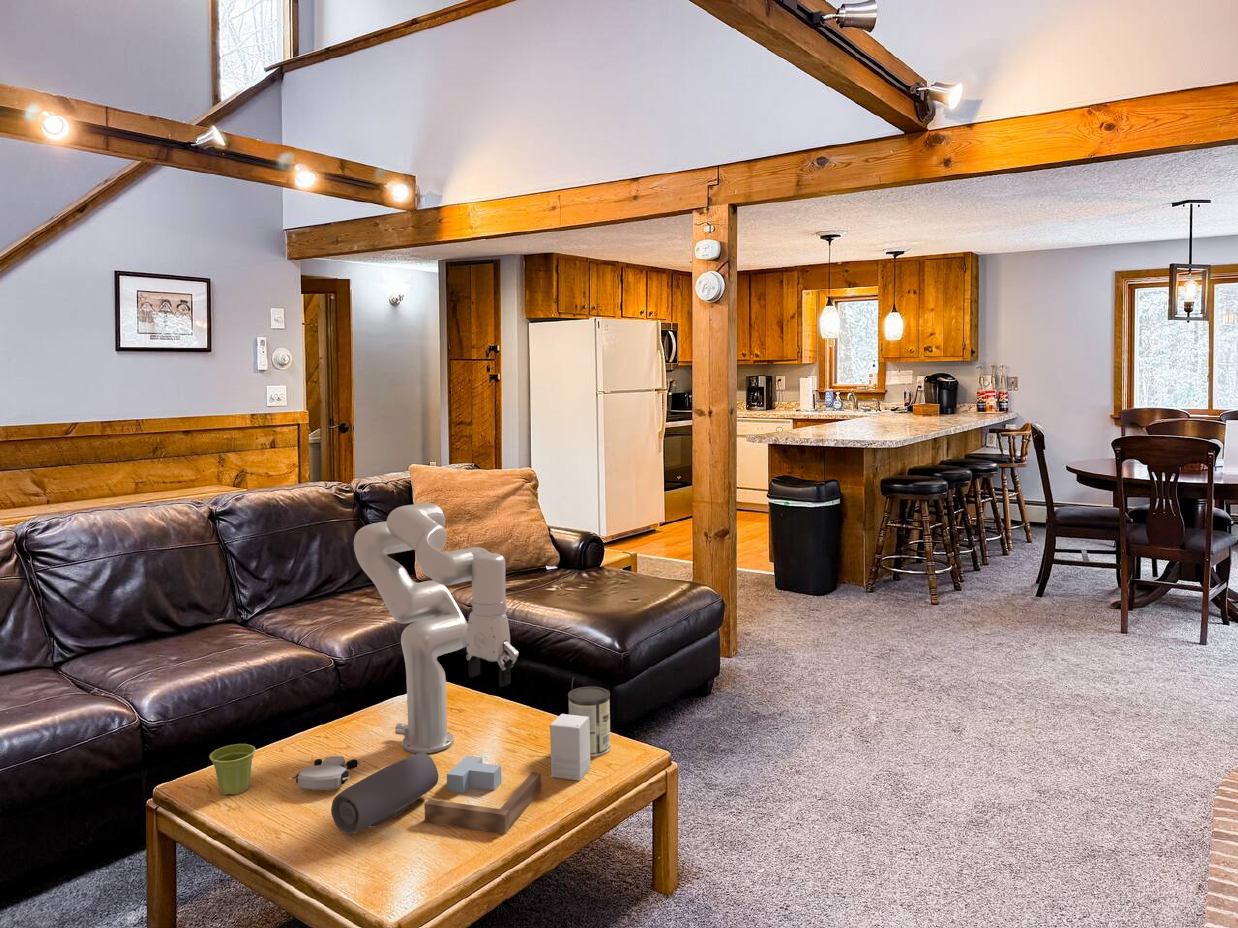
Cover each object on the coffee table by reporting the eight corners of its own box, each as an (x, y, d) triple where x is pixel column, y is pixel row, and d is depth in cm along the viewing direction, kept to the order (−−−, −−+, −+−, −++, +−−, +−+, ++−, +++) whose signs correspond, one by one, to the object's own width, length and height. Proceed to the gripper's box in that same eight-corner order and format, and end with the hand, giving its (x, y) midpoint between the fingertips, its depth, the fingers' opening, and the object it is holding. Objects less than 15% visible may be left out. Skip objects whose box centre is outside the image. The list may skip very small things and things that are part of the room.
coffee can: (572, 739, 229) (571, 685, 227) (612, 740, 228) (612, 686, 226) (565, 756, 219) (564, 700, 217) (608, 758, 218) (607, 701, 216)
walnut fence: (424, 821, 187) (424, 803, 187) (467, 780, 206) (467, 763, 206) (505, 833, 182) (504, 814, 182) (541, 789, 201) (540, 772, 201)
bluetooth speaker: (409, 788, 202) (408, 745, 201) (441, 798, 197) (439, 754, 196) (329, 833, 183) (327, 786, 182) (362, 845, 178) (360, 797, 177)
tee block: (447, 791, 201) (446, 773, 201) (467, 772, 211) (466, 755, 210) (488, 796, 198) (488, 778, 198) (506, 776, 208) (506, 759, 207)
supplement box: (591, 768, 212) (590, 716, 211) (579, 781, 205) (579, 728, 204) (562, 763, 214) (561, 712, 213) (549, 777, 208) (549, 724, 206)
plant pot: (223, 803, 196) (221, 765, 195) (204, 790, 202) (202, 752, 201) (264, 788, 203) (262, 751, 202) (245, 776, 209) (243, 740, 208)
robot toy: (313, 771, 214) (288, 796, 199) (313, 752, 214) (287, 775, 199) (365, 771, 213) (343, 797, 198) (364, 752, 213) (342, 776, 198)
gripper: (450, 605, 208) (451, 676, 210) (505, 618, 198) (505, 693, 199) (474, 598, 214) (474, 668, 216) (528, 611, 203) (528, 684, 205)
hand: (489, 680), depth 208 cm, fingers open, 9 cm apart
